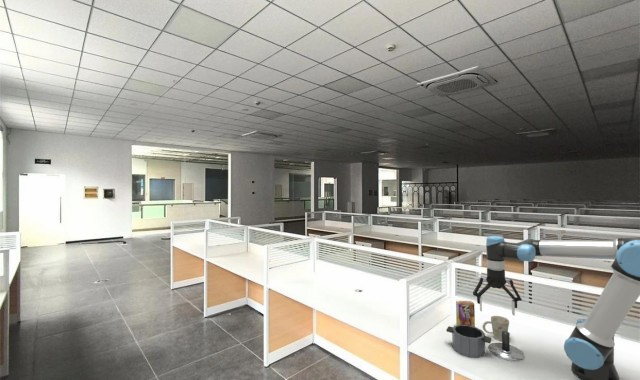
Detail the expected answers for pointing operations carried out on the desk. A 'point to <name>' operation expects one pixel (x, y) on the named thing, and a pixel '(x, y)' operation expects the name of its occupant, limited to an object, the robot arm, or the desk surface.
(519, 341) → the desk surface
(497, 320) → the mug
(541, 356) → the desk surface
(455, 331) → the pot
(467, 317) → the candy box
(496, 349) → the lid
